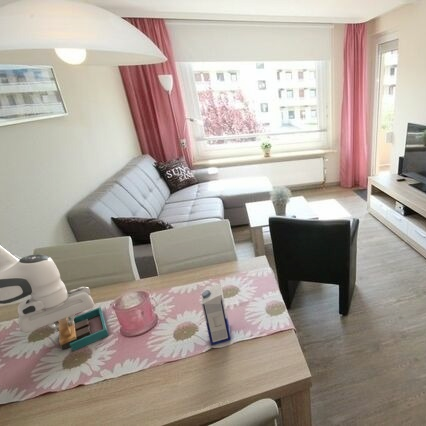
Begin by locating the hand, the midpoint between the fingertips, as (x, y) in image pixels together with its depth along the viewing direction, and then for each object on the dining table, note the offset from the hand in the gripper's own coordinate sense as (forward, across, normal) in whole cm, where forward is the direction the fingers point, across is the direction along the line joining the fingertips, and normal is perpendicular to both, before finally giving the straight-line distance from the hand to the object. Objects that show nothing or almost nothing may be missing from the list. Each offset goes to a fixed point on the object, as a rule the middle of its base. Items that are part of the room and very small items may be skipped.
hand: (65, 327), depth 108 cm
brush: (+4, 0, 0) cm, 4 cm away
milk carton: (+5, -42, +39) cm, 58 cm away
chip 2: (+5, -4, +3) cm, 7 cm away
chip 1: (+5, -4, -3) cm, 7 cm away
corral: (+5, -5, 0) cm, 7 cm away
